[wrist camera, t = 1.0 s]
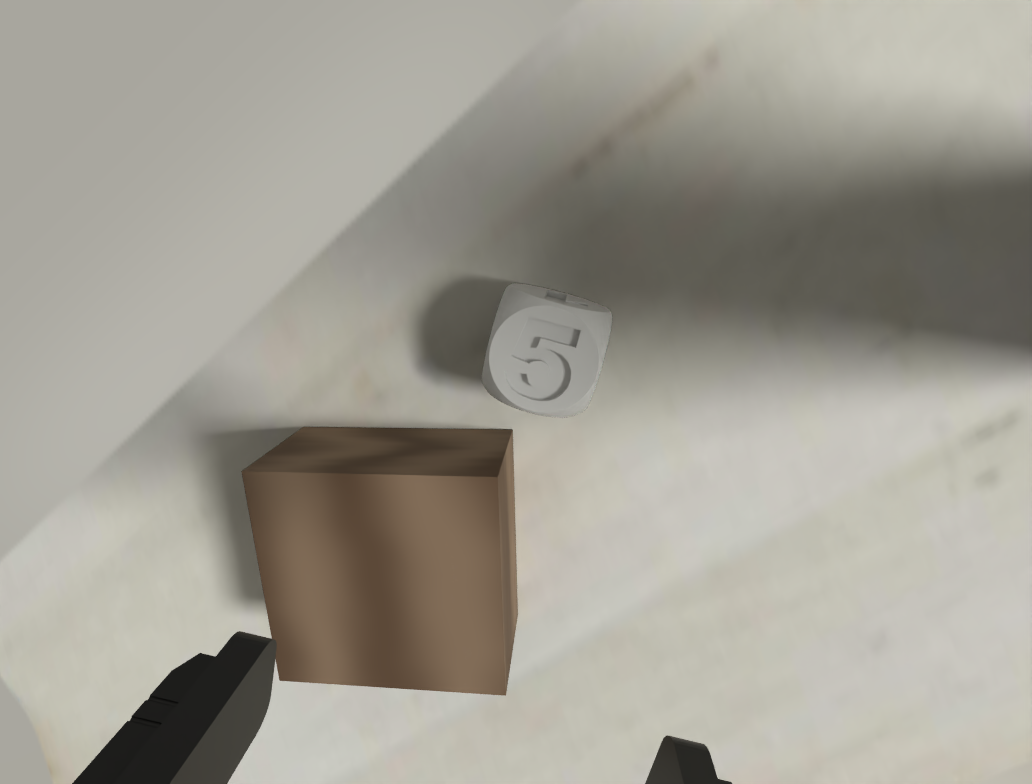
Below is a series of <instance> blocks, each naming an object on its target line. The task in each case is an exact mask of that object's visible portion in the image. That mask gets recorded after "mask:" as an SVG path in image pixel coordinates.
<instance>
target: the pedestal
mask: <svg viewBox="0 0 1032 784" xmlns="http://www.w3.org/2000/svg"><path fill="white" fill-rule="evenodd" d="M242 476H243V482H244V487H245V493H246V498H247V504H248V509H249V515H250V520H251V526H252V531H253V537H254V542H255V548H256V553H257V559H258V564H259V570H260V575H261V581H262V586H263V592H264V597H265V603H266V608H267V614H268V619H269V625H270V630H271V636H272V639H274V640H276V642H277V649H276V657H275V658H276V663H277V669H278V674H279V680H280V681H294V682H309V683H325V684H340V685H355V686H370V687H385V688H400V689H415V690H431V691H446V692H461V693H476V694H491V695H506V691H507V684H508V677H509V670H510V664H511V657H512V650H513V643H514V637H515V630H516V623H517V616H518V606H517V570H516V534H515V498H514V461H513V430H497V429H423V428H348V427H303V428H301V429H300V430H298V431H297V432H296V433H294V434H293V435H292V436H290V437H289V438H287V439H286V440H285V441H283V442H282V443H280V444H279V445H278V446H276V447H275V448H273V449H272V450H271V451H269V452H268V453H266V454H265V455H264V456H262V457H261V458H259V459H258V460H257V461H255V462H254V463H252V464H251V465H250V466H248V467H247V468H245V469H244V470H243V471H242Z"/></svg>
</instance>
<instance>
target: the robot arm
mask: <svg viewBox="0 0 1032 784" xmlns="http://www.w3.org/2000/svg"><path fill="white" fill-rule="evenodd" d="M276 649H277V642H276V640H274V639H270V638H266V637H261V636H257V635H253V634H249V633H245V632H240V631H239V632H237V633H235V634H234V635H233V636H232V637H231V638H230V640H229V641H228V642H227V643H226V645H225V646H224V647H223V648H222V650H221V651H220V652H219V653H218V655H217V656H216V657H214V656H210V655H206V654H202V653H199V654H198V655H196V656H195V657H193V658H191V659H190V660H188V661H187V662H185V663H184V664H182V665H180V666H179V667H177V668H176V669H174V670H172V671H171V672H170V673H169V675H168V676H167V677H166V678H165V679H164V680H163V681H162V682H161V684H160V685H159V686H158V687H157V688H156V689H155V690H154V692H153V693H152V694H151V695H150V698H149V699H148V700H146V701H145V702H144V703H143V704H142V705H141V706H140V707H139V709H138V710H137V711H136V712H135V713H134V714H133V715H132V718H131V720H130V721H127V722H126V723H125V724H124V726H123V727H122V728H121V729H120V730H119V731H118V732H117V733H116V735H115V736H114V737H113V738H112V739H111V740H110V741H109V743H108V744H107V745H106V746H105V747H104V748H103V749H102V750H101V752H100V753H99V754H98V755H97V756H96V757H95V758H94V760H93V761H92V762H91V763H90V764H89V765H88V766H87V768H86V769H85V770H84V771H83V772H82V773H81V774H80V775H79V777H78V778H77V779H76V780H75V781H74V782H73V783H72V784H227V783H228V781H229V779H230V778H231V776H232V774H233V773H234V771H235V769H236V768H237V766H238V764H239V763H240V761H241V759H242V758H243V756H244V754H245V753H246V751H247V749H248V748H249V746H250V744H251V743H252V741H253V739H254V738H255V736H256V734H257V732H258V730H259V729H260V727H261V724H262V722H263V720H264V717H265V715H266V712H267V709H268V706H269V702H270V697H271V690H272V681H273V673H274V665H275V657H276ZM645 784H732V783H731V782H728V781H724V780H720V779H718V778H717V775H716V772H715V769H714V765H713V762H712V759H711V755H710V753H709V750H708V748H707V747H706V746H705V745H704V744H701V743H697V742H693V741H688V740H684V739H680V738H676V737H672V736H666V737H664V739H663V741H662V743H661V745H660V748H659V750H658V753H657V755H656V758H655V761H654V763H653V766H652V768H651V771H650V773H649V776H648V778H647V781H646V783H645Z"/></svg>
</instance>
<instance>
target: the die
mask: <svg viewBox="0 0 1032 784" xmlns="http://www.w3.org/2000/svg"><path fill="white" fill-rule="evenodd" d="M611 327H612V313H611V311H610V310H609V309H608V308H606V307H604V306H602V305H600V304H597V303H595V302H592V301H589V300H586V299H583V298H580V297H577V296H574V295H570V294H567V293H563V292H560V291H556V290H552V289H547V288H543V287H538V286H533V285H527V284H518V283H513V284H510V285H509V286H507V287H506V289H505V291H504V293H503V296H502V298H501V301H500V304H499V307H498V310H497V313H496V316H495V320H494V323H493V327H492V331H491V334H490V338H489V342H488V346H487V351H486V355H485V360H484V365H483V371H482V383H483V385H484V386H485V388H486V390H487V391H488V393H489V394H490V395H492V396H493V397H494V398H496V399H497V400H499V401H501V402H503V403H505V404H507V405H509V406H511V407H514V408H516V409H519V410H522V411H526V412H529V413H533V414H537V415H542V416H548V417H572V416H575V415H577V414H579V413H581V412H583V411H585V410H586V409H587V407H588V405H589V403H590V401H591V398H592V396H593V393H594V390H595V387H596V384H597V381H598V378H599V375H600V372H601V368H602V365H603V361H604V358H605V354H606V350H607V346H608V342H609V337H610V332H611Z"/></svg>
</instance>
